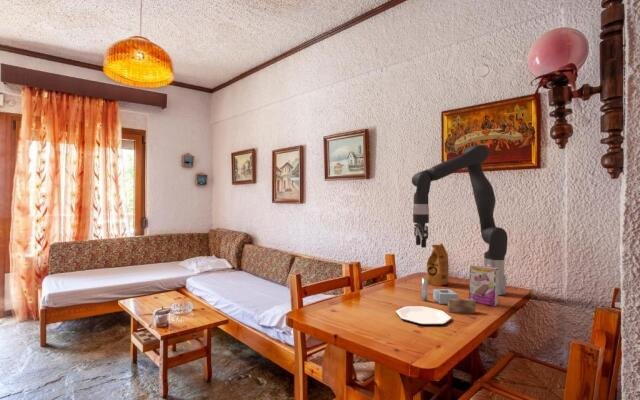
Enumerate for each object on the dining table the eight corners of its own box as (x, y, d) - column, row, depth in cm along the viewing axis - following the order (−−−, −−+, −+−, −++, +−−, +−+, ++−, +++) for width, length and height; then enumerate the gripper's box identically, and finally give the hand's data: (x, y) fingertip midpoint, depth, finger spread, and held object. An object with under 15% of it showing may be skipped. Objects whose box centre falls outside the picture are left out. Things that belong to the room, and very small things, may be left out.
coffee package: (423, 283, 189) (423, 243, 189) (434, 280, 198) (435, 242, 198) (439, 287, 182) (440, 245, 182) (450, 283, 191) (451, 244, 190)
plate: (388, 318, 134) (388, 314, 134) (411, 306, 149) (411, 303, 149) (437, 331, 121) (437, 327, 121) (457, 317, 136) (457, 314, 136)
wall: (473, 310, 144) (473, 299, 144) (475, 312, 142) (475, 300, 142) (447, 310, 143) (447, 298, 143) (449, 312, 141) (449, 300, 141)
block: (449, 298, 160) (450, 289, 160) (457, 303, 152) (457, 294, 152) (433, 298, 160) (433, 289, 160) (439, 303, 152) (439, 293, 152)
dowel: (426, 299, 159) (426, 278, 159) (428, 301, 156) (428, 279, 156) (420, 299, 159) (421, 278, 159) (422, 301, 156) (422, 279, 156)
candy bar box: (468, 301, 157) (469, 265, 157) (472, 299, 161) (473, 264, 161) (494, 307, 150) (495, 269, 149) (498, 304, 153) (499, 268, 153)
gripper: (433, 214, 161) (433, 248, 161) (423, 212, 176) (423, 244, 176) (417, 214, 161) (417, 248, 161) (409, 212, 175) (409, 244, 176)
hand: (420, 246), depth 169 cm, fingers open, 8 cm apart
